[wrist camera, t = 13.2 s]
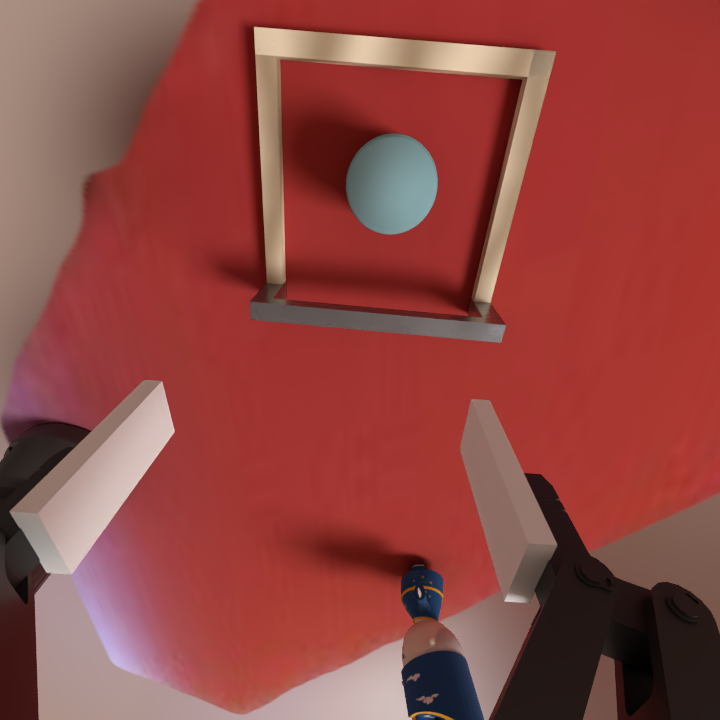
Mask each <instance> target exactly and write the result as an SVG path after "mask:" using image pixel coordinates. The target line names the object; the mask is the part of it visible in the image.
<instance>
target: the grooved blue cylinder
mask: <svg viewBox="0 0 720 720" xmlns="http://www.w3.org/2000/svg"><path fill="white" fill-rule="evenodd" d="M437 186H438V177H437V171H436V167H435V164H434V161H433V159H432V157H431V155H430V154H429V152H428V151H427V150H426V148H425V147H424V146H423V145H422V144H421V143H419V142H418V141H416V140H415V139H413V138H411V137H409V136H406V135H402V134H384V135H381V136H378V137H376V138H374V139H372V140H370V141H369V142H367V143H366V144H365V145H364V146H362V147H361V148H360V150H359V151H358V152H357V153H356V155H355V156H354V158H353V160H352V162H351V164H350V166H349V169H348V173H347V178H346V194H347V199H348V203H349V205H350V208H351V210H352V211H353V213H354V215H355V216H356V218H357V219H358V220H359V221H360V222H361V223H362V224H363V225H364V226H366V227H367V228H369V229H371V230H373V231H375V232H378V233H382V234H398V233H402V232H405V231H408V230H410V229H412V228H413V227H415V226H416V225H418V224H419V223H420V222H421V221H422V220H423V219H424V218H425V217H426V215H427V214H428V213H429V211H430V209H431V207H432V205H433V203H434V200H435V198H436V193H437Z"/></svg>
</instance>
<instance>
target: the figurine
mask: <svg viewBox="0 0 720 720" xmlns="http://www.w3.org/2000/svg"><path fill="white" fill-rule="evenodd" d="M412 570H413V571H410V572H408V573H406V574H405V575H404V576H403V577H402V580H401V600H402V603H403V604H404V607H405V608H406V610H407V612H408V613H409V614H410V616H411V617H412V619H413V622H414V625H413V626H412V627H410V628H409V630H408V631H407V633H406V635H405V637H404V642H403V648H402V661H403V667H404V668H403V669H402V672H401V673H402V679H403V681H402V684H403V686H404V691H405V697H406V704H407V709H408V716H409V717H412V720H484V718H483V714H482V711H481V708H480V704H479V701H478V698H477V694H476V691H475V688H474V684H473V681H472V677H471V674H470V671H469V667H468V664H467V661H466V659H465V657H464V653H463V650H462V647H461V645H460V643H459V641H458V640H457V639H456V637H455V635H454V634H453V633H452V632H451V631H450V630H448V629H447V628H446V627H445V626H444V625H443V624H441V623H440V622H438V618H439V613H440V609H441V603H442V601H443V578H442V577H441V575H440V574H438V573H437V572H435V571H432V570H428V569H425V566H424V565H414V566H412Z"/></svg>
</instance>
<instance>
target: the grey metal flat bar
mask: <svg viewBox="0 0 720 720" xmlns="http://www.w3.org/2000/svg"><path fill="white" fill-rule="evenodd" d="M286 297H287V290H286V281H285V282H284V284H272V283H266V284H265V285H264V286H263V287H262V289H261V290H260V291H259V292H258V293H257V294H256V295H255V296H254V297H253V299H252V300H251V301H250V312H251V320H260V321H271V322H282V323H293V324H304V325H315V326H326V327H337V328H348V329H358V330H369V331H380V332H391V333H402V334H413V335H424V336H435V337H446V338H456V339H467V340H478V341H489V342H500V343H501V341H502V337H503V334H504V330H505V327H506V324H505V323H504V321H503V320H502V319H501V317H500V316H499V314H498V313H497V312H496V310H495V309H494V307H493V306H492V304H491V303H482V302H474V301H473V299H472V297H471V299H470V304H469V308H468V312H467V313H468V315H469V316H460V315H449V314H438V313H427V312H416V311H405V310H394V309H383V308H372V307H361V306H350V305H339V304H328V303H317V302H306V301H295V300H285V298H286Z"/></svg>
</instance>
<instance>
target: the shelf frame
mask: <svg viewBox="0 0 720 720" xmlns="http://www.w3.org/2000/svg"><path fill="white" fill-rule="evenodd" d="M254 39H255V58H256V78H257V97H258V117H259V137H260V156H261V176H262V195H263V215H264V235H265V254H266V274H267V283H272V284H284V282H285V281H286V271H285V231H284V191H283V152H282V112H281V72H280V60H291V61H303V62H315V63H327V64H339V65H351V66H363V67H375V68H387V69H399V70H411V71H423V72H436V73H448V74H460V75H472V76H484V77H496V78H508V79H520V80H522V84H521V88H520V92H519V97H518V101H517V105H516V109H515V114H514V118H513V122H512V127H511V131H510V135H509V139H508V144H507V148H506V152H505V156H504V161H503V165H502V169H501V174H500V178H499V182H498V186H497V191H496V195H495V199H494V203H493V208H492V212H491V216H490V220H489V225H488V229H487V233H486V238H485V242H484V246H483V250H482V255H481V259H480V263H479V267H478V272H477V276H476V280H475V285H474V289H473V293H472V299H473V301H474V302H482V303H490V302H491V298H492V294H493V291H494V287H495V283H496V279H497V275H498V272H499V268H500V264H501V260H502V256H503V253H504V249H505V245H506V241H507V237H508V233H509V230H510V226H511V222H512V218H513V214H514V211H515V207H516V203H517V199H518V195H519V192H520V188H521V184H522V180H523V176H524V173H525V169H526V165H527V161H528V157H529V153H530V150H531V146H532V142H533V138H534V134H535V131H536V127H537V123H538V119H539V115H540V112H541V108H542V104H543V100H544V96H545V93H546V89H547V85H548V81H549V77H550V73H551V70H552V66H553V62H554V58H555V54H556V52H555V51H543V50H531V49H519V48H506V47H494V46H482V45H470V44H457V43H445V42H433V41H421V40H408V39H396V38H384V37H372V36H359V35H347V34H335V33H323V32H311V31H298V30H286V29H274V28H262V27H254Z"/></svg>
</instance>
